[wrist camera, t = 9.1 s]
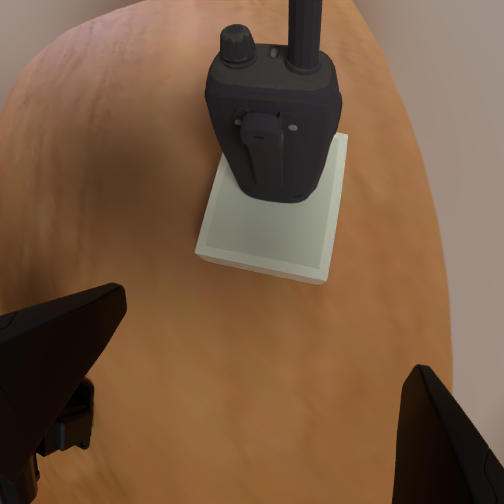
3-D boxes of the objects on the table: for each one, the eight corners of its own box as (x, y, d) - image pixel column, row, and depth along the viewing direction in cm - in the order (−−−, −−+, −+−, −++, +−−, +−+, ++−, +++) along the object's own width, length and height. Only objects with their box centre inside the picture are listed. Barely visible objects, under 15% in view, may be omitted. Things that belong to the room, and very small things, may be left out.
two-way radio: (323, 162, 19) (369, -66, 4) (316, 228, 18) (397, -3, 3) (237, 152, 19) (174, -68, 5) (224, 215, 19) (102, -1, 4)
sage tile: (206, 261, 21) (193, 252, 18) (239, 137, 23) (233, 114, 20) (320, 285, 20) (327, 280, 17) (340, 155, 22) (348, 133, 19)
